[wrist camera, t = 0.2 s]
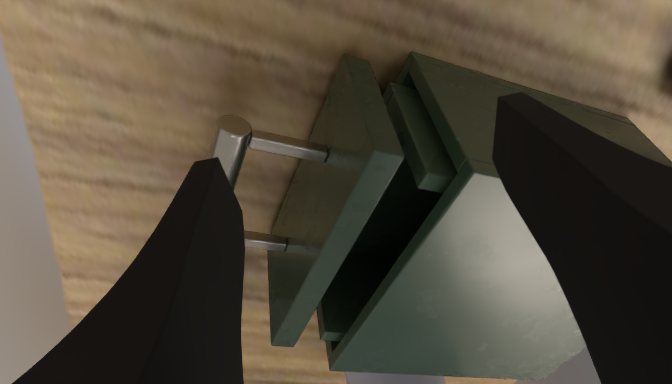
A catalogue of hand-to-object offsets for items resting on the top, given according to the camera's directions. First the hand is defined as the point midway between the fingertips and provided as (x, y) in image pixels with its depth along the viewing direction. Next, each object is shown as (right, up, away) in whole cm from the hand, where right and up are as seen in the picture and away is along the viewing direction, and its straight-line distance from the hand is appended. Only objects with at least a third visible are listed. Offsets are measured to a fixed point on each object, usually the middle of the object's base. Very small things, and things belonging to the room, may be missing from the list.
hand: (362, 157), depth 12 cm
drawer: (+1, 0, +13) cm, 13 cm away
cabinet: (+7, -1, +16) cm, 17 cm away
